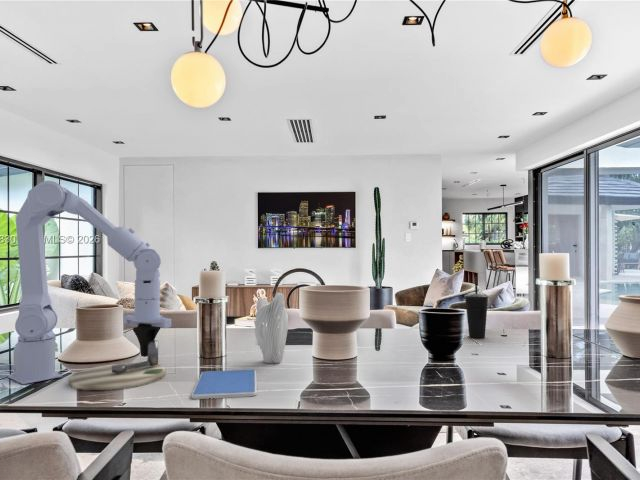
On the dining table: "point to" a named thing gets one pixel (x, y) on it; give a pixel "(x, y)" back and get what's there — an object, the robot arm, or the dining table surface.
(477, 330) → the drinking cup
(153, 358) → the lever
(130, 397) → the dining table surface
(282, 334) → the white ribbed vase
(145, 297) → the robot arm
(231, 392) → the tablet computer
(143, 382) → the dial board
